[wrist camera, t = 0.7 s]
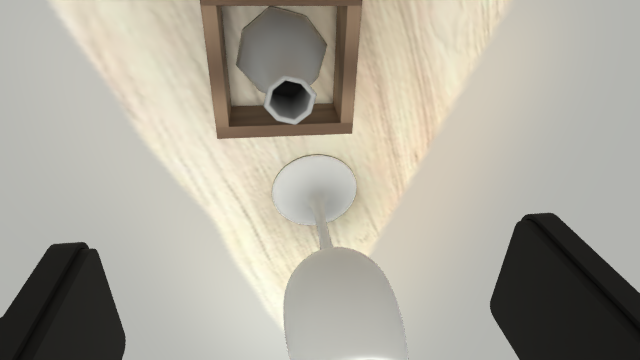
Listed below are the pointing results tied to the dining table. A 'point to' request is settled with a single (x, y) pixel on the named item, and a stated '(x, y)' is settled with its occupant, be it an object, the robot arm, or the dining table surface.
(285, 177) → the wineglass
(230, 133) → the frame
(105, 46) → the dining table surface
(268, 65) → the flask
